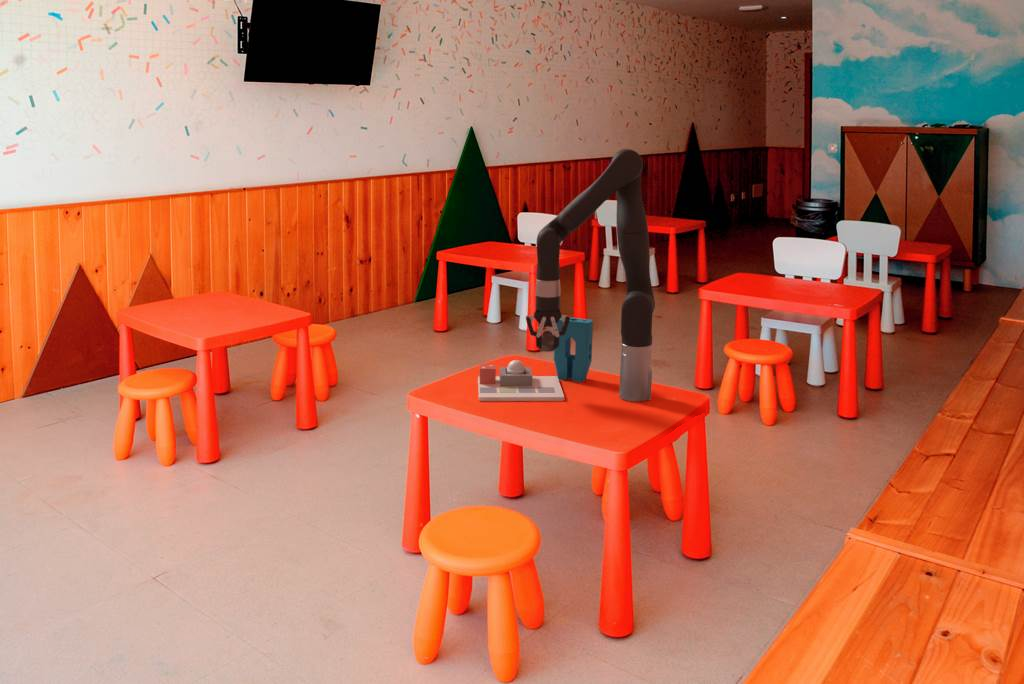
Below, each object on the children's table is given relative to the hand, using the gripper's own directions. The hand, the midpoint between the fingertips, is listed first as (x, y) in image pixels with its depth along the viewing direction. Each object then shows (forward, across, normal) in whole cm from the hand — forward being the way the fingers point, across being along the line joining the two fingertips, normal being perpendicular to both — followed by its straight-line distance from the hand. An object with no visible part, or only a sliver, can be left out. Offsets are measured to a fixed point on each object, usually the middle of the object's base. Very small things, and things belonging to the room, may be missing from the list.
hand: (547, 348), depth 279 cm
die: (+13, +18, -9) cm, 24 cm away
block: (+15, -10, -16) cm, 24 cm away
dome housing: (+13, +9, -9) cm, 19 cm away
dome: (+11, +9, -9) cm, 17 cm away
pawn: (0, 0, 0) cm, 0 cm away
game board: (+15, +8, -4) cm, 17 cm away
